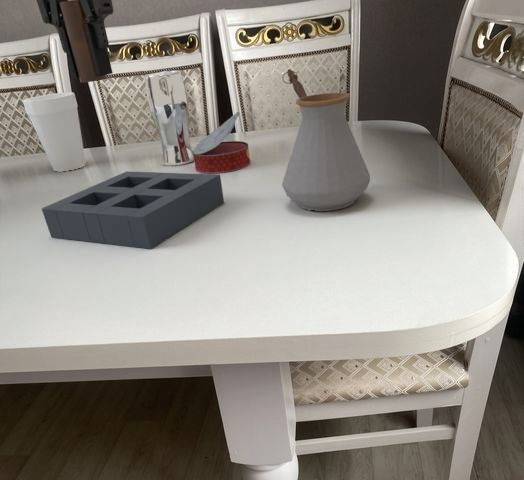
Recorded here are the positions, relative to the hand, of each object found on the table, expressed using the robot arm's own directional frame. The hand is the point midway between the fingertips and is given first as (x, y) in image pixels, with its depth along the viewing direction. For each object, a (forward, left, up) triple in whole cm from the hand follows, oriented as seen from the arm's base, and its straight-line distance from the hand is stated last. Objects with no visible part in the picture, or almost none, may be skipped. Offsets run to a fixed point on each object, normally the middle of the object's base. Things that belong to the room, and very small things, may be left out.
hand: (92, 75), depth 79 cm
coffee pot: (+34, +3, -17) cm, 38 cm away
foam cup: (-23, +11, -17) cm, 31 cm away
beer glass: (0, +17, -17) cm, 24 cm away
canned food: (+11, +15, -17) cm, 25 cm away
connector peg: (0, 0, -1) cm, 1 cm away
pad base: (+14, -12, -17) cm, 25 cm away
